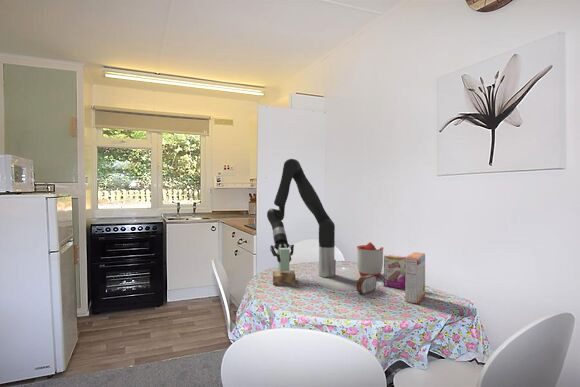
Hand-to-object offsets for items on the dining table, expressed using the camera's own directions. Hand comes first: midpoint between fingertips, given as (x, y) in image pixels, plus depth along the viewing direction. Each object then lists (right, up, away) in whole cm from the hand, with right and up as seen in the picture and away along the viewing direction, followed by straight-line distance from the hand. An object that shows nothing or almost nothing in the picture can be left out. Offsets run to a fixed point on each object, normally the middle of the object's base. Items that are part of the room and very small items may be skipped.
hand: (284, 261), depth 184 cm
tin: (+42, -12, -16) cm, 46 cm away
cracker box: (+62, -13, -26) cm, 68 cm away
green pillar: (-1, -5, +2) cm, 6 cm away
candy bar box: (+59, -12, -6) cm, 60 cm away
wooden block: (-1, -12, +2) cm, 12 cm away
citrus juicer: (+51, -12, +17) cm, 55 cm away
